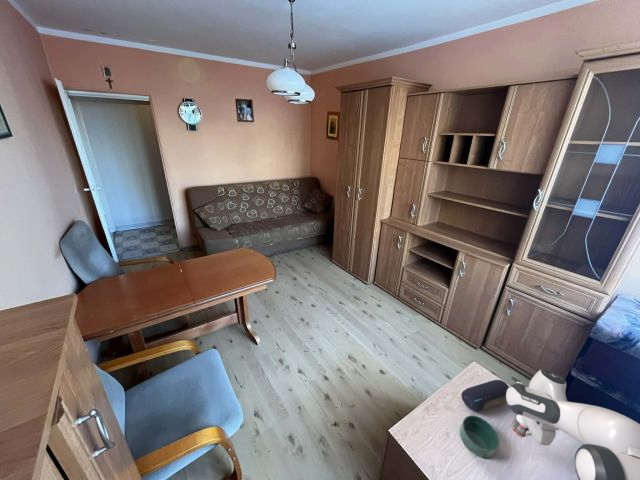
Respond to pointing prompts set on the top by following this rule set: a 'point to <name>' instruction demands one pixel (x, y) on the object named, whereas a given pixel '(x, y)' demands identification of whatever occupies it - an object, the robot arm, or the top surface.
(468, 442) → the bowl
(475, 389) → the portable speaker
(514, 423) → the pill bottle
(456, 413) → the top surface
